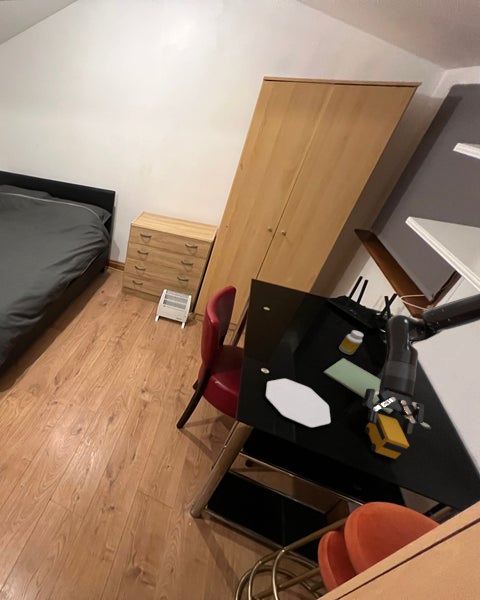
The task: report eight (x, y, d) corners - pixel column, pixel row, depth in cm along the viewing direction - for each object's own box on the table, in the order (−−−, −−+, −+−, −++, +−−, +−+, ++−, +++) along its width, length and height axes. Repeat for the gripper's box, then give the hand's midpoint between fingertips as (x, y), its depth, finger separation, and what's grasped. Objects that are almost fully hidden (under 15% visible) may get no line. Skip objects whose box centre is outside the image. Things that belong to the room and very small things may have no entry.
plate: (326, 397, 116) (328, 394, 115) (330, 438, 102) (332, 436, 101) (266, 374, 124) (268, 371, 123) (262, 410, 109) (264, 407, 108)
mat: (406, 396, 119) (407, 395, 119) (389, 414, 112) (390, 412, 111) (342, 359, 134) (343, 358, 134) (323, 372, 127) (324, 371, 127)
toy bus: (363, 428, 106) (377, 412, 102) (382, 434, 104) (397, 419, 100) (373, 455, 98) (388, 439, 94) (393, 462, 96) (410, 447, 92)
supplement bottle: (351, 356, 136) (364, 339, 131) (337, 349, 140) (348, 332, 134) (354, 351, 139) (367, 334, 134) (340, 344, 143) (352, 327, 137)
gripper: (378, 369, 100) (368, 421, 97) (435, 385, 95) (427, 440, 93) (364, 370, 107) (354, 418, 104) (416, 385, 103) (408, 436, 100)
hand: (388, 428), depth 99 cm, fingers open, 8 cm apart
